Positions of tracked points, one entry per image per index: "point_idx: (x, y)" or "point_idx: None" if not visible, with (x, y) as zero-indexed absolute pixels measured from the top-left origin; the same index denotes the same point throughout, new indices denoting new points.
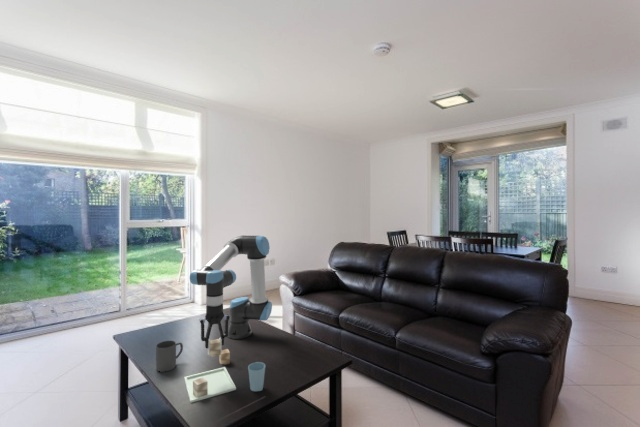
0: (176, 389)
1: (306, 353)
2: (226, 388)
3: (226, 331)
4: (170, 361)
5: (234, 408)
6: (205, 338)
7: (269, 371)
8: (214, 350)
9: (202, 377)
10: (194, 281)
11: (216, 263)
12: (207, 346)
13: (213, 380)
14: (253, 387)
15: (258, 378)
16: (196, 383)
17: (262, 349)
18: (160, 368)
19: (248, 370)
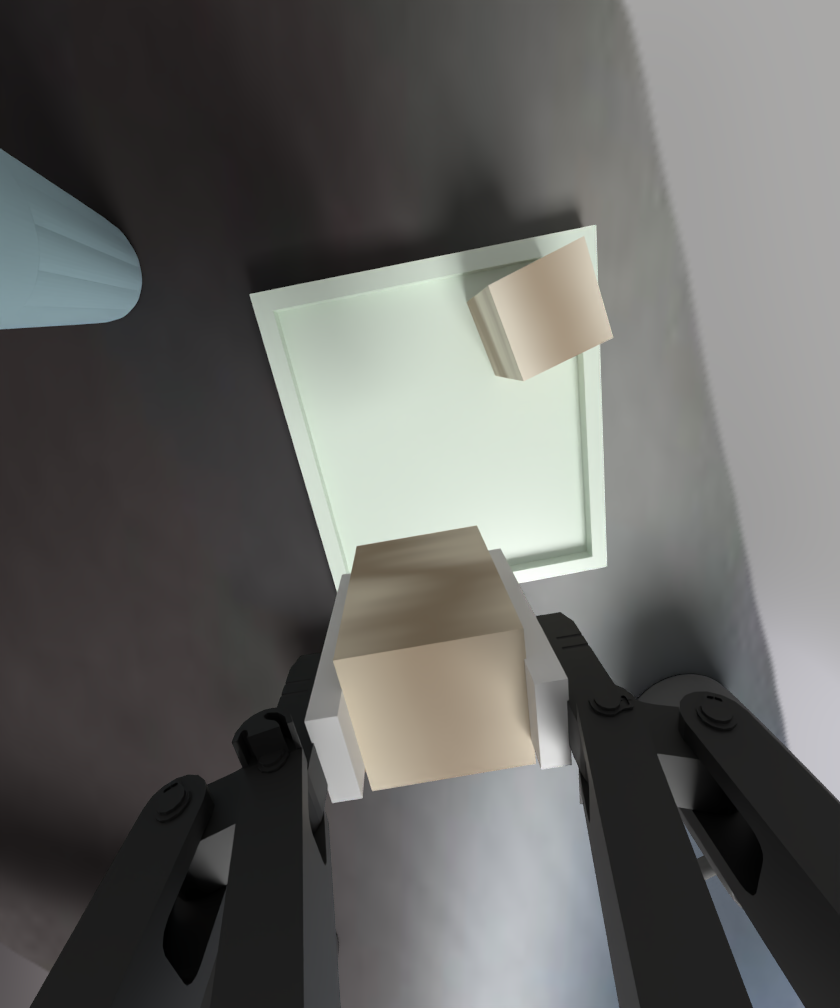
0: (650, 462)
1: None
2: (329, 340)
3: (113, 938)
4: None
5: (258, 15)
6: (663, 758)
7: (15, 495)
8: (434, 569)
9: (528, 372)
10: None
11: None
12: (549, 634)
13: (422, 483)
14: (82, 204)
15: None
16: (588, 273)
17: (106, 776)
18: (727, 692)
19: (8, 196)
